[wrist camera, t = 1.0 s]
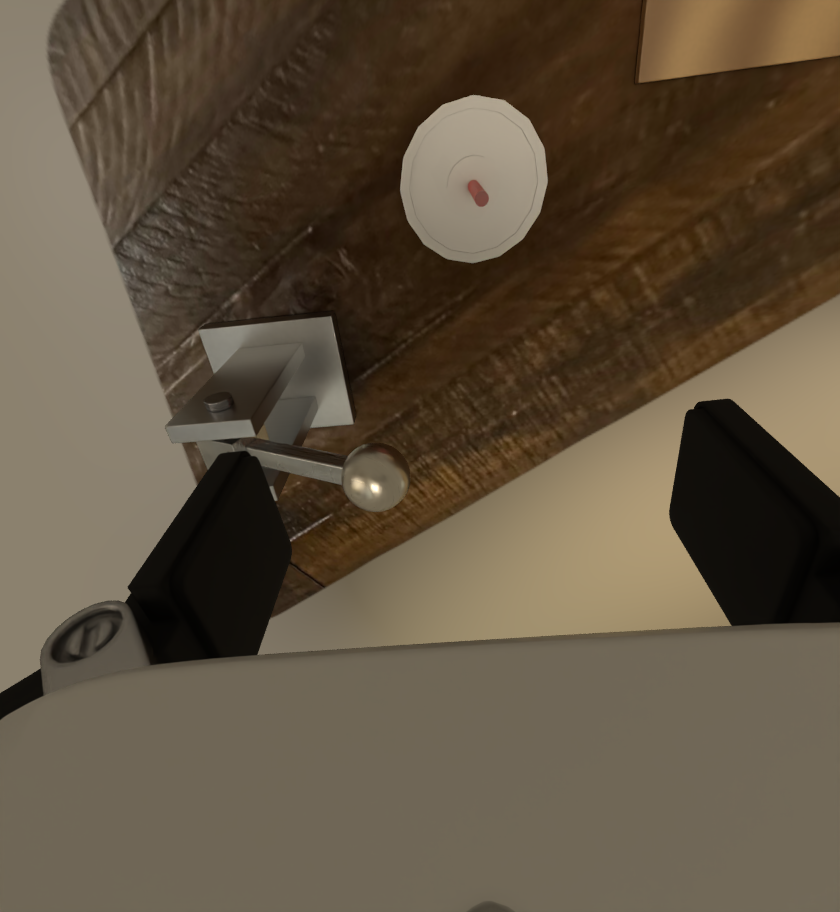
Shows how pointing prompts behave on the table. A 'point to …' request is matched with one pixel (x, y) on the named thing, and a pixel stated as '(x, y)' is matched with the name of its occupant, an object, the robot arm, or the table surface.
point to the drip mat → (732, 35)
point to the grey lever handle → (328, 467)
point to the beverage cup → (473, 179)
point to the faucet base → (269, 383)
